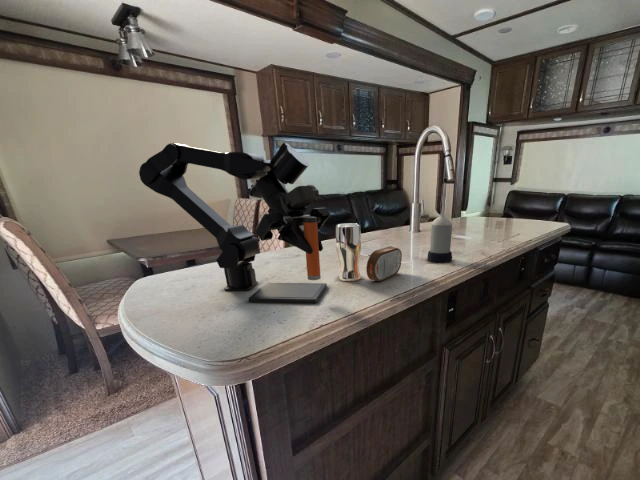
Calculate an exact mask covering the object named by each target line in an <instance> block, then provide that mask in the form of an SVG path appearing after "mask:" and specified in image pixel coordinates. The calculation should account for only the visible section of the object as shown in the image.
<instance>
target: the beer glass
mask: <svg viewBox="0 0 640 480" xmlns="http://www.w3.org/2000/svg"><path fill="white" fill-rule="evenodd" d="M361 231H362V230H361V224H360V223H350V222H349V223H348V222H347V223H338V224H336V225H335V246H336V252H337V257H338V262H339V276H338V278H339V280H340V281H343V282H356V281H359V280H360V279H361V273H360V272H361V271H360V257H361V249H362V232H361Z"/></svg>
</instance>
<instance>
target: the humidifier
mask: <svg viewBox="0 0 640 480" xmlns="http://www.w3.org/2000/svg"><path fill="white" fill-rule="evenodd" d="M446 194H447V182H444V183H443V188H442V196H441V198H440V200H441V208H440V210H439V211H440V213H439V216H438V217H436V218H435V219H434V220H433V221H432V223H431V227H430V244H429V245H430V246H429V251H428V252H427V262H429V263H433V264H449V263H452V259H453V253H452V251H451V245H452V232H453V225H452V224H453V223H452V221H451V220H450V219H449V218H448V217H446V215H445V210H446V201H445V200H446Z"/></svg>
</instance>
